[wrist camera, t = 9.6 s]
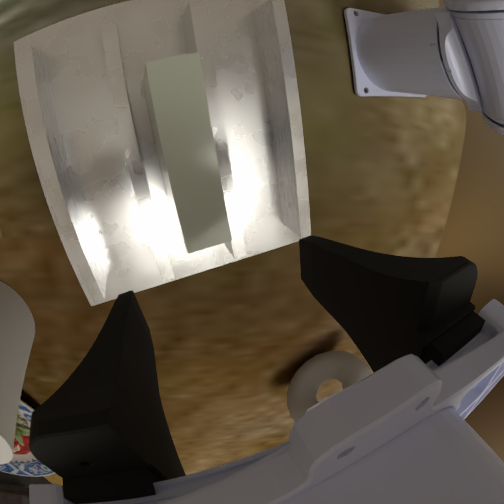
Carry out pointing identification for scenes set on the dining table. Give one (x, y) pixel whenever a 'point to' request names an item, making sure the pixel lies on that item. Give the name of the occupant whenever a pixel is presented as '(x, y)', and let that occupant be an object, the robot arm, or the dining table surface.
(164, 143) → the grey rectangular block
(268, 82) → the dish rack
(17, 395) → the white cylinder
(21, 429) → the ceramic plate
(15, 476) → the grey napkin holder
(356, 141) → the dining table surface
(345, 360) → the donut
